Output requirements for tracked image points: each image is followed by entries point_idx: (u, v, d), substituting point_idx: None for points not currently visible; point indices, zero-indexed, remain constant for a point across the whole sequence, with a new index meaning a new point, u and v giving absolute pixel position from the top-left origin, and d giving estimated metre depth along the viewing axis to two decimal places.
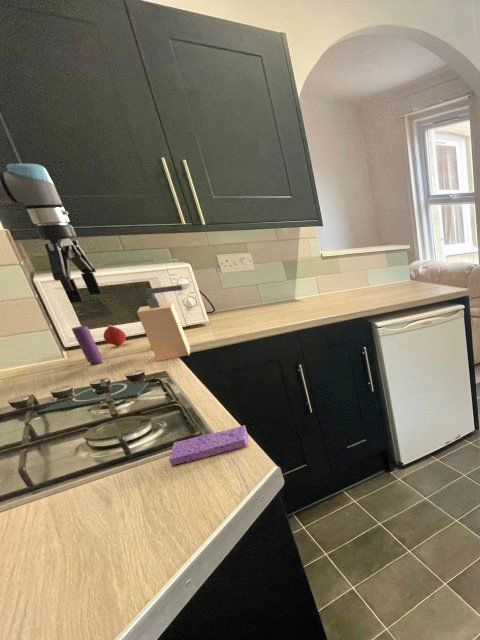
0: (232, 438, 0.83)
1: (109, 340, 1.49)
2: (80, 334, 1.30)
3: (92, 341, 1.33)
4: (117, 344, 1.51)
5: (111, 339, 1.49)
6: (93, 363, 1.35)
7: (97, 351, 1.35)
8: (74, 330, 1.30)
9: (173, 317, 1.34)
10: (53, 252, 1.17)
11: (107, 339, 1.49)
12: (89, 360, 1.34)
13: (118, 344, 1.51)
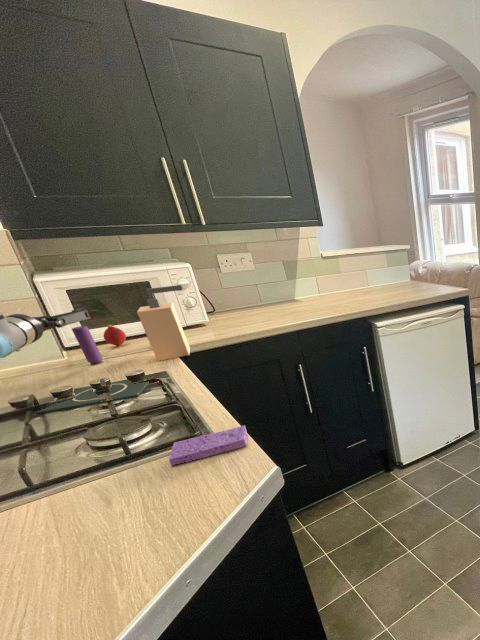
0: (232, 438, 0.83)
1: (109, 340, 1.49)
2: (80, 334, 1.30)
3: (92, 341, 1.33)
4: (117, 344, 1.51)
5: (111, 339, 1.49)
6: (93, 363, 1.35)
7: (97, 351, 1.35)
8: (74, 330, 1.30)
9: (173, 317, 1.34)
10: None
11: (107, 339, 1.49)
12: (89, 360, 1.34)
13: (118, 344, 1.51)
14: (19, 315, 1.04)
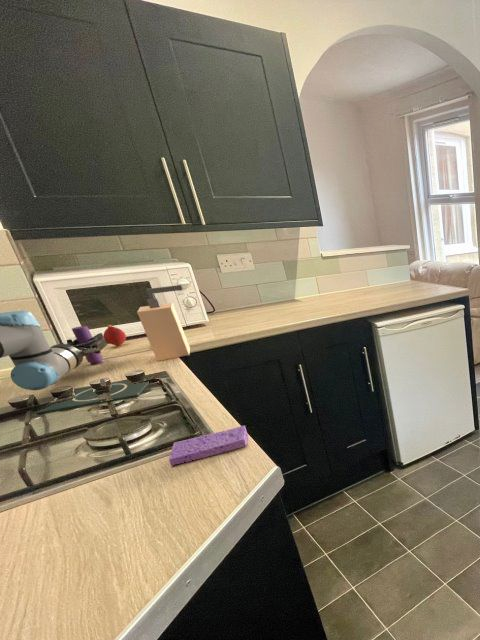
0: (232, 438, 0.83)
1: (109, 340, 1.49)
2: (80, 334, 1.30)
3: None
4: (117, 344, 1.51)
5: (111, 339, 1.49)
6: (93, 363, 1.35)
7: None
8: (74, 330, 1.30)
9: (173, 317, 1.34)
10: None
11: (107, 339, 1.49)
12: (89, 360, 1.34)
13: (118, 344, 1.51)
14: (63, 345, 1.19)
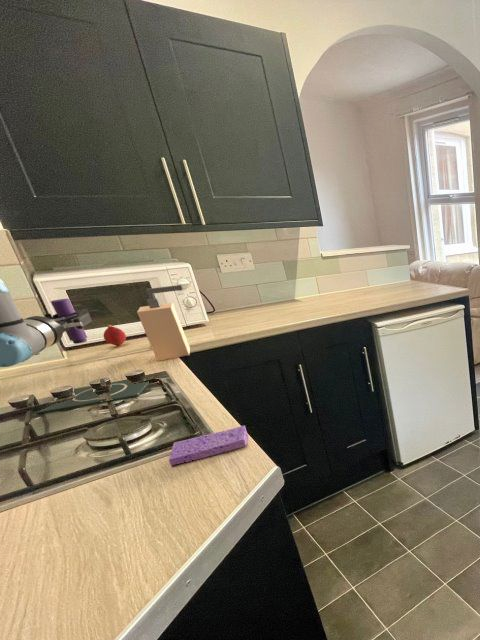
0: (232, 438, 0.83)
1: (109, 340, 1.49)
2: (60, 307, 1.13)
3: None
4: (117, 344, 1.51)
5: (111, 339, 1.49)
6: (76, 342, 1.17)
7: None
8: (53, 303, 1.12)
9: (173, 317, 1.34)
10: None
11: (107, 339, 1.49)
12: (71, 338, 1.16)
13: (118, 344, 1.51)
14: (39, 317, 1.02)
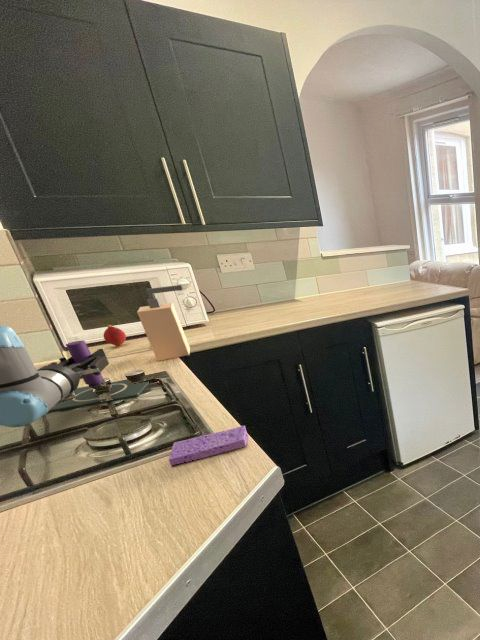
0: (232, 438, 0.83)
1: (109, 340, 1.49)
2: (76, 351, 1.07)
3: None
4: (117, 344, 1.51)
5: (111, 339, 1.49)
6: (92, 385, 1.11)
7: None
8: (69, 346, 1.06)
9: (173, 317, 1.34)
10: None
11: (107, 339, 1.49)
12: (87, 382, 1.10)
13: (118, 344, 1.51)
14: (54, 366, 0.95)
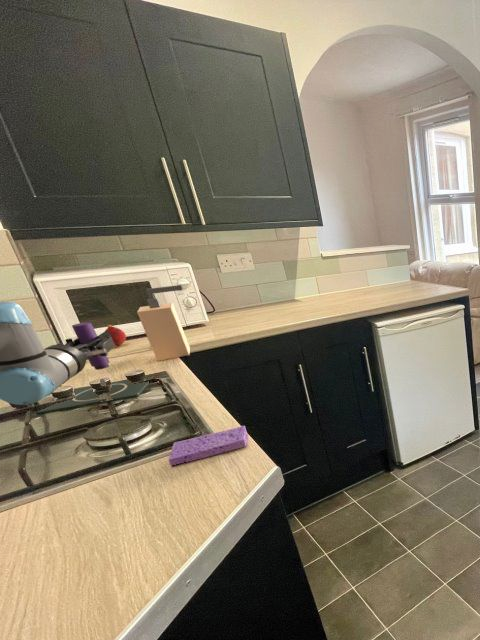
0: (232, 438, 0.83)
1: None
2: (82, 332, 1.06)
3: None
4: (117, 344, 1.51)
5: None
6: (98, 368, 1.10)
7: None
8: (75, 327, 1.05)
9: (173, 317, 1.34)
10: None
11: None
12: (93, 364, 1.09)
13: (118, 344, 1.51)
14: (61, 346, 0.94)
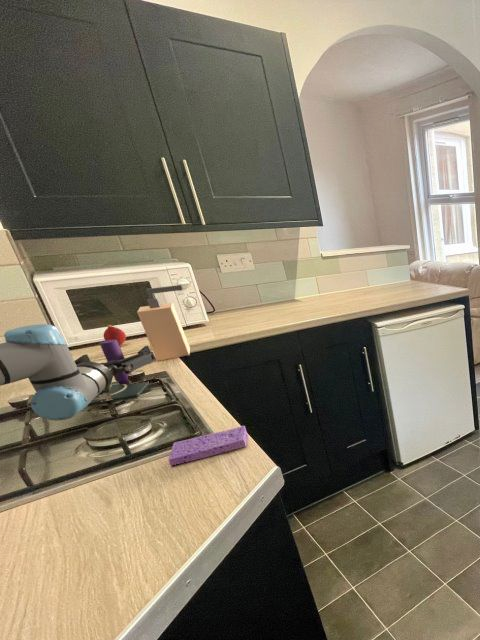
0: (232, 438, 0.83)
1: None
2: (109, 349, 1.12)
3: (122, 357, 1.15)
4: None
5: (111, 339, 1.49)
6: (122, 382, 1.16)
7: None
8: (102, 344, 1.11)
9: (173, 317, 1.34)
10: None
11: (107, 339, 1.49)
12: (118, 379, 1.15)
13: None
14: (90, 363, 1.00)
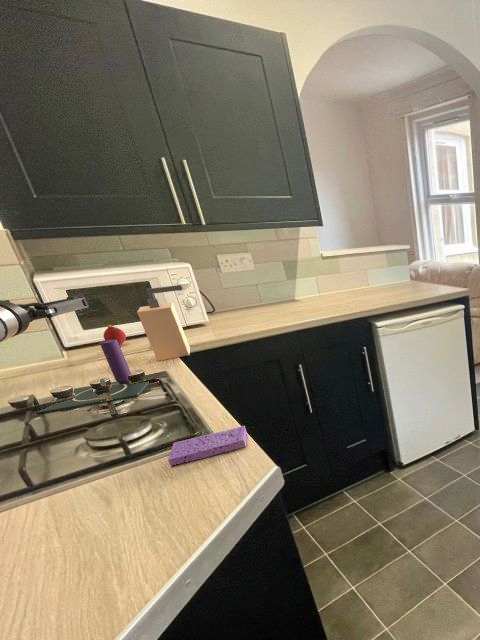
0: (231, 439, 0.83)
1: None
2: (109, 349, 1.12)
3: (122, 357, 1.15)
4: None
5: (111, 339, 1.49)
6: (122, 382, 1.16)
7: (127, 368, 1.16)
8: (102, 344, 1.11)
9: (173, 317, 1.34)
10: None
11: (107, 339, 1.49)
12: (118, 379, 1.15)
13: None
14: (0, 301, 0.85)
